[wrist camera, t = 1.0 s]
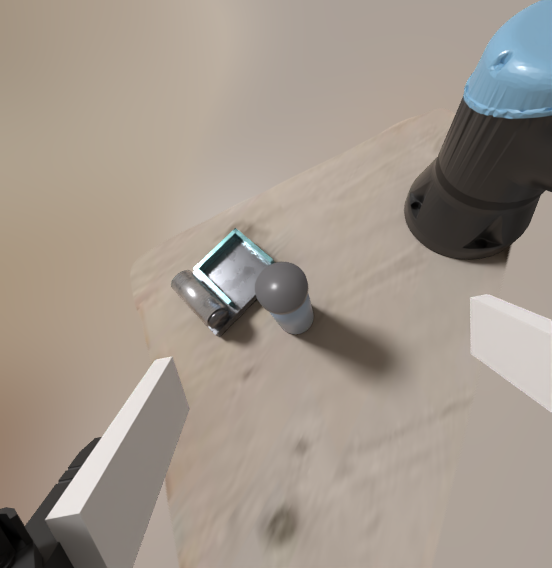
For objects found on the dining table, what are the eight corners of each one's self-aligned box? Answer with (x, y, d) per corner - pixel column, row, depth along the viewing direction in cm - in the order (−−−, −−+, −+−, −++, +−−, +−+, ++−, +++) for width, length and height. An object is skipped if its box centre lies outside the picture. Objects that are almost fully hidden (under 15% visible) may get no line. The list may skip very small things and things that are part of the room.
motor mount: (238, 235, 47) (228, 218, 42) (282, 272, 43) (276, 257, 38) (179, 293, 45) (161, 281, 40) (219, 337, 41) (204, 329, 37)
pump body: (294, 290, 42) (280, 252, 31) (323, 314, 40) (318, 283, 29) (268, 317, 41) (244, 288, 30) (296, 344, 39) (280, 323, 28)
